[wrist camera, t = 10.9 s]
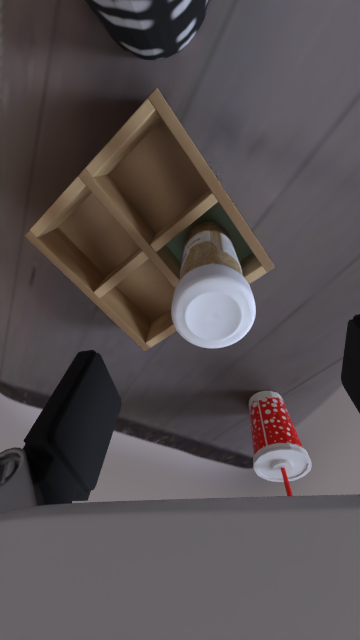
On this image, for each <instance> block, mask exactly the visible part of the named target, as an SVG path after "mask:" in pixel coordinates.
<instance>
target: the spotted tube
mask: <svg viewBox="0 0 360 640" xmlns="http://www.w3.org/2000/svg"><path fill="white" fill-rule="evenodd" d="M85 1H86V2H87V4H88V5H89V6H90V8H91V9H92V11H93V12H94V13H95V15H96V16H97V17H98V19H99V20H100V21H101V23H102V24H103V26H104V27H105V28H106V30H107V31H108V32H109V34H110V35H111V36H112V38H113V39H114V40H115V41H116V42H117V43H118V44H119V45H120V46H121V47H122V48H123V49H124V50H126V51H127V52H129V53H131V54H132V55H134V56H136V57H140V58H143V59H146V60H159V59H163V58H167V57H170V56H171V55H173V54H175V53H177V52H179V51H180V50H181V49H182V48H183V47H185V46H186V45H187V44H188V43H189V42H190V40H191V39H192V38H193V37H194V35H195V34H196V33H197V31H198V29H199V27H200V26H201V24H202V22H203V20H204V18H205V15H206V12H207V9H208V7H209V4H210V0H85Z"/></svg>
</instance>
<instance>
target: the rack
mask: <svg viewBox="0 0 360 640" xmlns="http://www.w3.org/2000/svg"><path fill="white" fill-rule="evenodd" d="M204 222H214V223H217V224H219V225H221V226H222V227H224V228H225V229H226V230H227V231H228V233H229V235H230V237H231V241H232V244H233V247H234V250H235V252H236V255H237V258H238V261H239V264H240V266H241V270H242V275H243V277H244V278H245V279H246V280H247V282H248V284H250V283H252V282H253V281H255V280H256V279H258V278H259V277H261V276H262V275H264V274H265V273H266V272H268V271H270V270H272V269H273V268H275V266H274V265H273V263H272V262H271V260H270V258H269V257H268V255H267V254H266V252H265V251H264V249H263V248H262V246H261V245H260V243H259V242H258V240H257V239H256V237H255V236H254V234H253V233H252V231H251V230H250V228H249V227H248V225H247V224H246V222H245V221H244V219H243V217H242V216H241V214H240V213H239V211H238V210H237V208H236V207H235V205H234V204H233V202H232V201H231V199H230V198H229V196H228V195H227V193H226V192H225V190H224V189H223V187H222V186H221V184H220V183H219V181H218V179H217V178H216V176H215V175H214V173H213V172H212V170H211V169H210V167H209V166H208V164H207V163H206V161H205V160H204V158H203V157H202V155H201V154H200V152H199V151H198V149H197V148H196V146H195V145H194V143H193V142H192V140H191V138H190V137H189V135H188V134H187V132H186V131H185V129H184V128H183V126H182V125H181V123H180V122H179V120H178V119H177V117H176V116H175V114H174V113H173V111H172V110H171V108H170V107H169V105H168V104H167V102H166V100H165V99H164V97H163V96H162V94H161V93H160V91H159V90H158V88H156V89H155V90H154V91H153V92H152V93H151V94H150V95H149V97H148V98H147V99H146V100H145V101H144V102H143V103H142V105H141V106H140V107H139V108H138V109H137V110H136V111H135V112H134V114H133V115H132V116H131V117H130V118H129V119H128V120H127V121H126V123H125V124H124V125H123V126H122V127H121V128H120V129H119V130H118V131H117V133H116V134H115V135H114V136H113V137H112V138H111V139H110V140H109V142H108V143H107V144H106V145H105V146H104V147H103V148H102V149H101V151H100V152H99V153H98V154H97V155H96V156H95V157H94V158H93V160H92V161H91V162H90V163H89V164H88V165H87V166H86V168H85V169H84V170H83V171H82V172H81V173H80V174H79V175H78V176H77V177H76V178H75V180H74V181H73V182H72V183H71V184H70V185H69V186H68V187H67V189H66V190H65V191H64V192H63V193H62V194H61V195H60V196H59V198H58V199H57V200H56V201H55V202H54V203H53V204H52V205H51V206H50V208H49V209H48V210H47V211H46V212H45V213H44V214H43V215H42V217H41V218H40V219H39V220H38V221H37V222H36V223H35V224H34V226H33V227H32V228H31V229H30V230H29V231H28V232H27V234H26V235H25V237H26V238H27V239H28V240H29V241H30V242H31V243H32V244H33V245H34V246H35V247H36V248H37V249H38V250H39V251H40V252H41V253H42V254H43V255H44V256H45V257H47V258H48V259H49V260H50V261H51V262H52V263H53V264H54V265H55V266H56V267H57V268H58V269H59V270H60V271H61V272H62V273H63V274H64V275H65V276H66V277H67V278H69V279H70V280H71V281H72V282H73V283H74V284H75V285H76V286H77V287H78V288H79V289H80V290H81V291H82V292H83V293H84V294H85V295H86V296H87V297H88V298H89V299H91V300H92V301H93V302H94V303H95V304H96V305H97V306H98V307H99V308H100V309H101V310H102V311H103V312H104V313H105V314H106V315H107V316H108V317H109V318H110V319H111V320H113V321H114V322H115V323H116V324H117V325H118V326H119V327H120V328H121V329H122V330H123V331H124V332H125V333H126V334H127V335H128V336H129V337H130V338H131V339H132V340H133V341H135V342H136V343H137V344H138V345H139V346H140V347H141V348H142V349H143V350H144V351H146V350H148V349H149V348H151V347H152V346H154V345H155V344H157V343H159V342H160V341H162V340H163V339H165V338H166V337H168V336H169V335H171V334H173V333H174V332H176V331H177V330H176V328H175V326H174V324H173V321H172V316H171V307H172V300H173V295H174V292H175V289H176V286H177V284H178V283H179V280H180V271H181V265H182V259H183V253H184V243H185V239H186V237H187V235H188V233H189V232H190V230H192V228H194V227H195V226H196V225H198V224H201V223H204Z"/></svg>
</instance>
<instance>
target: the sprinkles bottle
mask: <svg viewBox="0 0 360 640" xmlns="http://www.w3.org/2000/svg"><path fill="white" fill-rule="evenodd" d="M255 314H256V307H255V301H254V297H253V294H252V291H251V288H250V286H249V284H248V282H247V280H246V279H245V278H244V277H243V275H242V270H241V266H240V264H239V261H238V258H237V255H236V252H235V250H234V247H233V244H232V241H231V237H230V235H229V233H228V231H227V230H226V229H225V228H224V227H222V226H221V225H219V224H217V223H214V222H204V223H201V224H198V225H196V226H195V227H194V228H192V230H190V232H189V233H188V235H187V237H186V239H185V243H184V253H183V259H182V265H181V271H180V280H179V283H178V284H177V286H176V289H175V292H174V295H173V300H172V307H171V316H172V321H173V324H174V326H175V328H176V330H177V331H178V333H179V334H180V335H181V336H182V337H183V338H184V339H186V340H187V341H188V342H190V343H192V344H194V345H197V346H200V347H204V348H221V347H226V346H229V345H231V344H233V343H236V342H237V341H239V340H240V339H241V338H243V337H244V336H245V335H246V334H247V333H248V331H249V330H250V328H251V326H252V325H253V322H254V319H255Z"/></svg>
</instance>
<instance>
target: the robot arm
mask: <svg viewBox="0 0 360 640" xmlns="http://www.w3.org/2000/svg"><path fill="white" fill-rule="evenodd" d="M341 381H342V384H343V386H344V388H345V390H346V391H347V393H348V395H349V396H350V398H351V400H352V401H353V403H354V405H355V406H356V408H357V410H358V411H359V413H360V314H359V315H355V316H354V317H353V320H349V322H348V326H347V334H346V342H345V349H344V357H343V365H342V373H341ZM120 408H121V398H120V396H119V394H118V391H117V389H116V387H115V385H114V383H113V381H112V379H111V376H110V374H109V372H108V370H107V368H106V366H105V364H104V361H103V359H102V357H101V355H100V354H99V353H96V352H95V351H94V350H89V351H81V352H79V353H78V354H77V355H76V357H75V358H74V360H73V362H72V363H71V365H70V367H69V368H68V370H67V371H66V373H65V375H64V376H63V378H62V380H61V381H60V383H59V384H58V386H57V388H56V389H55V391H54V392H53V394H52V396H51V397H50V399H49V401H48V402H47V404H46V405H45V407H44V409H43V410H42V412H41V414H40V415H39V417H38V419H37V420H36V422H35V423H34V425H33V426H32V428H31V430H30V431H29V433H28V435H27V436H26V438H25V439H24V442H25V443H26V444H25V446H24V448H23V449H21V448H11V449H7V450H5V451H3V452H1V453H0V640H360V495H321V496H277V497H241V498H207V499H176V500H144V501H115V502H90V503H72V501H85V500H88V498H89V495H90V491H91V490H93V489H94V488H95V486H96V484H97V480H98V477H99V474H100V471H101V468H102V465H103V461H104V458H105V455H106V452H107V449H108V446H109V443H110V440H111V436H112V433H113V430H114V427H115V424H116V421H117V418H118V415H119V411H120Z"/></svg>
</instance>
